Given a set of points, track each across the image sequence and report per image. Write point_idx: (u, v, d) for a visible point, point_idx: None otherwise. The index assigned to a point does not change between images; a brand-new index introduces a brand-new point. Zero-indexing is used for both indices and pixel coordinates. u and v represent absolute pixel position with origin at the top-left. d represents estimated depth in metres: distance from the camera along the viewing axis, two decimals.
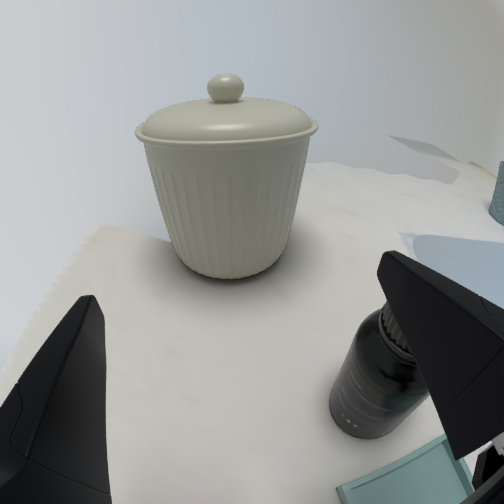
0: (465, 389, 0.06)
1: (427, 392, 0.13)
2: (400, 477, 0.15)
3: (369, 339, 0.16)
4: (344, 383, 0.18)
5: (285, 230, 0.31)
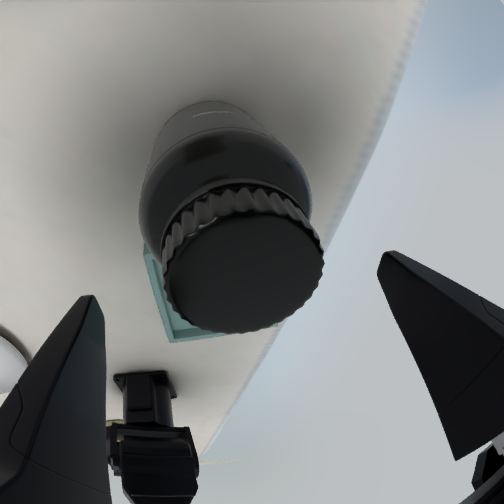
0: (465, 388, 0.06)
1: None
2: None
3: (154, 216, 0.10)
4: None
5: None
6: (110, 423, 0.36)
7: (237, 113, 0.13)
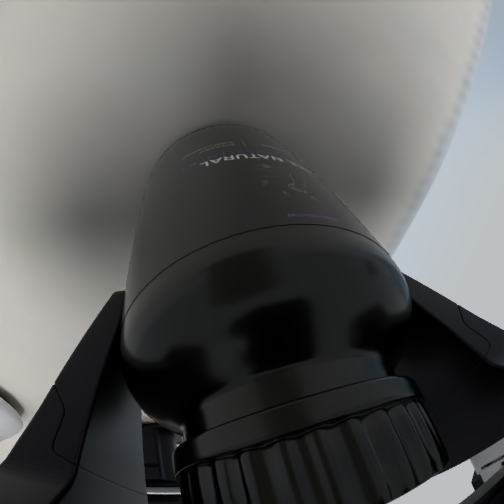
0: (441, 404, 0.06)
1: None
2: None
3: (151, 401, 0.05)
4: None
5: None
6: None
7: (281, 157, 0.08)
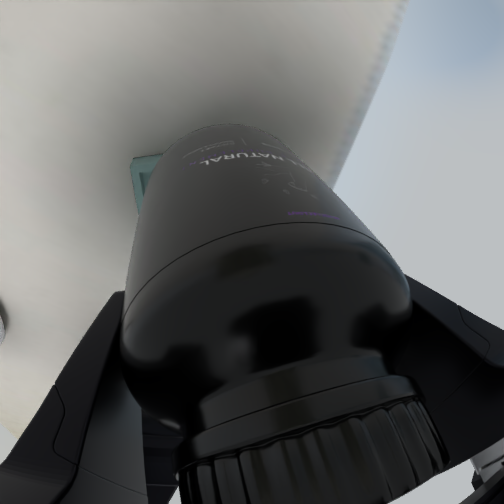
0: (441, 404, 0.06)
1: None
2: None
3: (151, 400, 0.05)
4: None
5: None
6: None
7: (281, 156, 0.08)
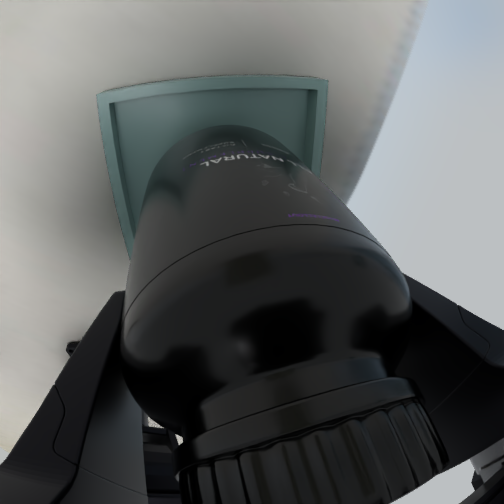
0: (440, 404, 0.06)
1: None
2: (208, 107, 0.12)
3: (151, 401, 0.05)
4: None
5: None
6: None
7: (282, 157, 0.08)
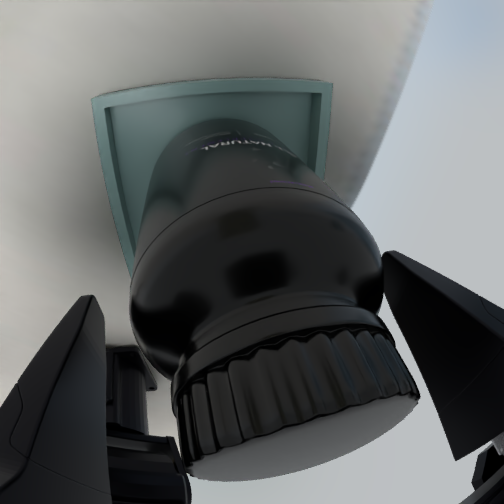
0: (465, 388, 0.06)
1: None
2: (207, 111, 0.12)
3: (155, 339, 0.06)
4: None
5: None
6: None
7: (270, 143, 0.09)
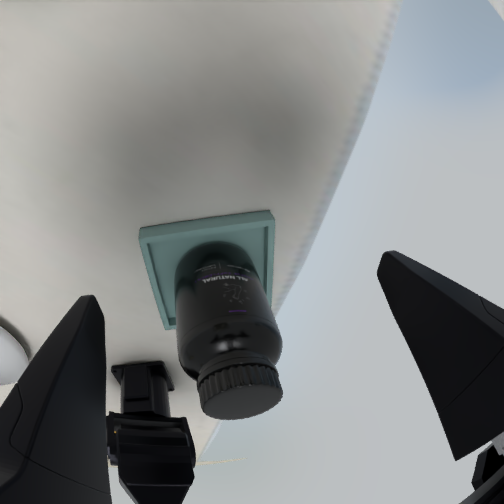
0: (466, 388, 0.06)
1: None
2: (203, 238, 0.23)
3: (190, 364, 0.17)
4: None
5: None
6: None
7: (234, 274, 0.20)
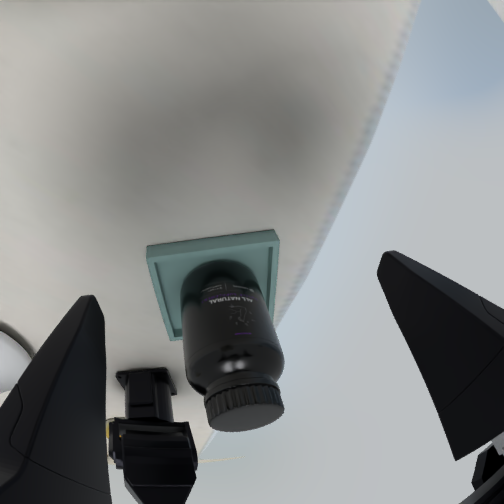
0: (465, 389, 0.06)
1: None
2: (209, 256, 0.23)
3: (198, 382, 0.17)
4: None
5: None
6: None
7: (240, 295, 0.20)
